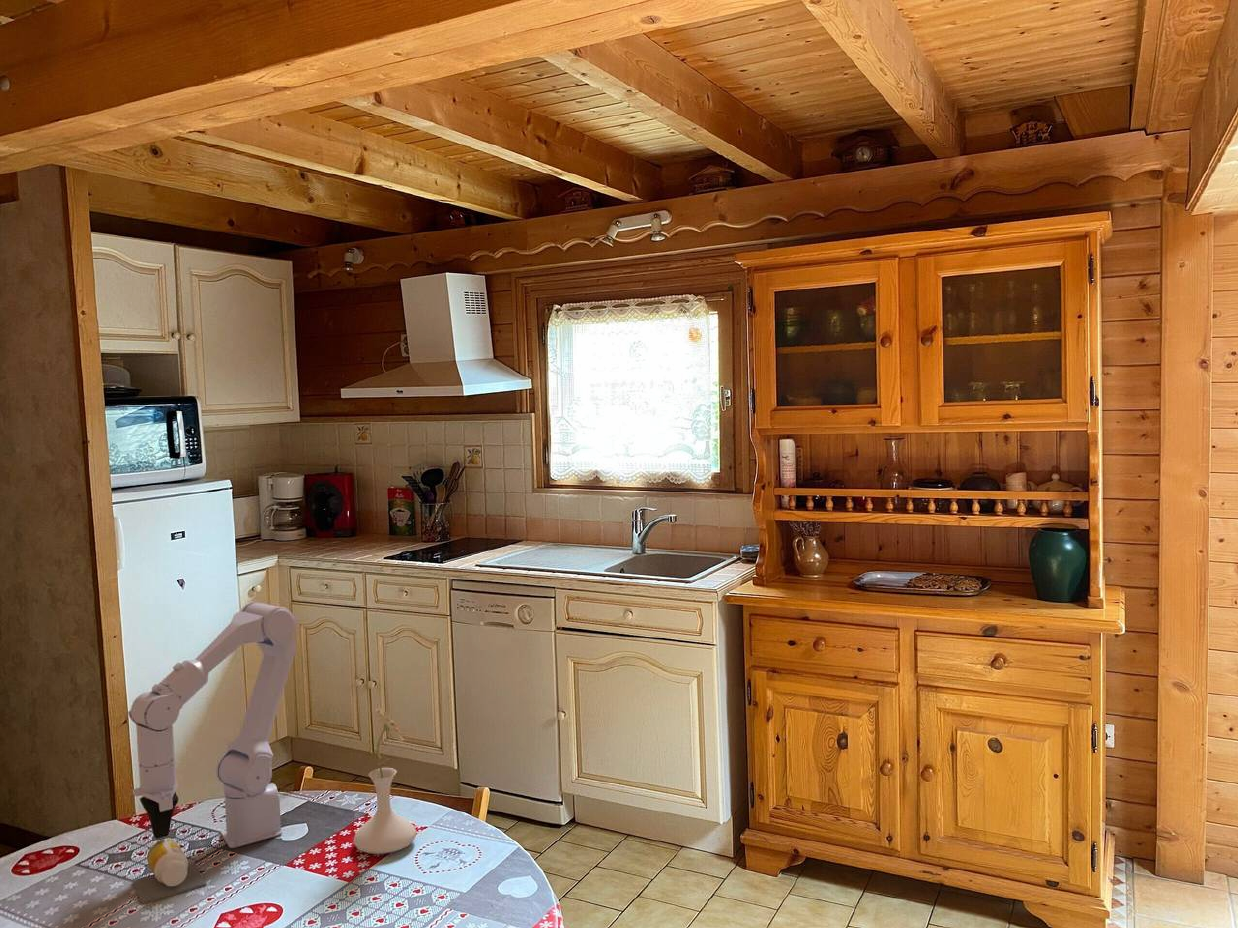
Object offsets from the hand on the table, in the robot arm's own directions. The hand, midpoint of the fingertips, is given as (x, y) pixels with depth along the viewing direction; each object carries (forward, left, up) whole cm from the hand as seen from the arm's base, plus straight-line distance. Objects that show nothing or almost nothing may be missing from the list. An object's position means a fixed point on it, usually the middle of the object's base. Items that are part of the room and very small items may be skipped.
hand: (161, 835), depth 170 cm
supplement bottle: (0, -1, -3) cm, 3 cm away
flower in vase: (-36, +14, -7) cm, 39 cm away
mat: (0, +5, -6) cm, 8 cm away
